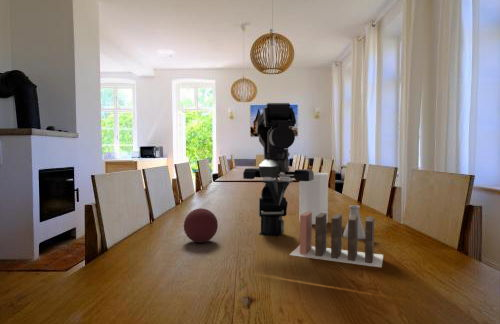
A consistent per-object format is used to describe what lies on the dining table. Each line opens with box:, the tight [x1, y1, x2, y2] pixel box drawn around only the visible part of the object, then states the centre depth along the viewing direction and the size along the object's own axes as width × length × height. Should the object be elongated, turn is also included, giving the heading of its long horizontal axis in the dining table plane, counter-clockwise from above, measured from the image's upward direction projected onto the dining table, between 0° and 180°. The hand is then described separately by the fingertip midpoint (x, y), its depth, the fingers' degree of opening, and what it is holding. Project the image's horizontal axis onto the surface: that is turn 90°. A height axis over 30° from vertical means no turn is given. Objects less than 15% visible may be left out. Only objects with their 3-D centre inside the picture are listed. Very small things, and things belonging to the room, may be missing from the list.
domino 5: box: [364, 216, 375, 263], centre depth 81 cm, size 2×6×10 cm, turn 156°
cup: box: [298, 172, 329, 226], centre depth 125 cm, size 11×11×18 cm
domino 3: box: [330, 213, 343, 259], centre depth 84 cm, size 2×6×10 cm, turn 156°
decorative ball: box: [183, 207, 219, 244], centre depth 98 cm, size 10×10×10 cm
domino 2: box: [314, 213, 327, 257], centre depth 86 cm, size 2×6×10 cm, turn 156°
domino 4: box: [347, 215, 358, 261], centre depth 83 cm, size 2×6×10 cm, turn 156°
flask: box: [342, 204, 365, 240], centre depth 103 cm, size 7×7×10 cm
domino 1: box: [299, 212, 313, 254], centre depth 88 cm, size 2×6×10 cm, turn 156°
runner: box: [289, 244, 384, 268], centre depth 85 cm, size 22×10×1 cm, turn 66°
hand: (277, 205), depth 91 cm, fingers closed
